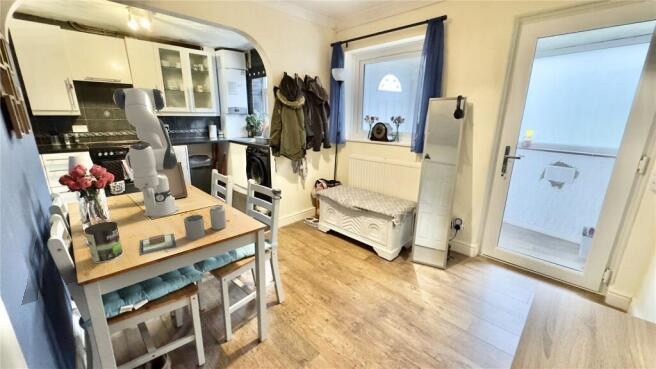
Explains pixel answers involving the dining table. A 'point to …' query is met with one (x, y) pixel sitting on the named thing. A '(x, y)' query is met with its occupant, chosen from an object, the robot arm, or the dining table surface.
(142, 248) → the mat
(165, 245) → the lid
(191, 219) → the cup
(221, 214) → the can
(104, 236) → the coffee can
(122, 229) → the dining table surface
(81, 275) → the dining table surface
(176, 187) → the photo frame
